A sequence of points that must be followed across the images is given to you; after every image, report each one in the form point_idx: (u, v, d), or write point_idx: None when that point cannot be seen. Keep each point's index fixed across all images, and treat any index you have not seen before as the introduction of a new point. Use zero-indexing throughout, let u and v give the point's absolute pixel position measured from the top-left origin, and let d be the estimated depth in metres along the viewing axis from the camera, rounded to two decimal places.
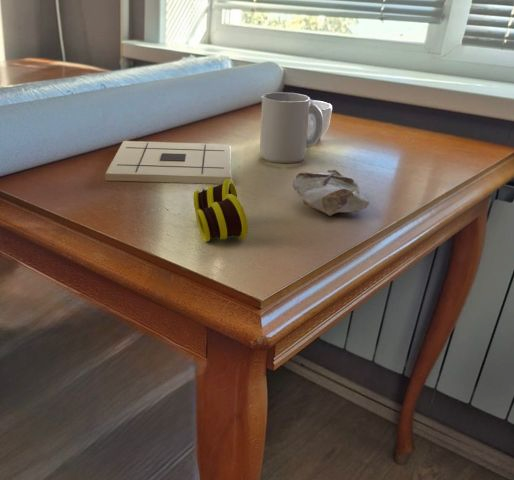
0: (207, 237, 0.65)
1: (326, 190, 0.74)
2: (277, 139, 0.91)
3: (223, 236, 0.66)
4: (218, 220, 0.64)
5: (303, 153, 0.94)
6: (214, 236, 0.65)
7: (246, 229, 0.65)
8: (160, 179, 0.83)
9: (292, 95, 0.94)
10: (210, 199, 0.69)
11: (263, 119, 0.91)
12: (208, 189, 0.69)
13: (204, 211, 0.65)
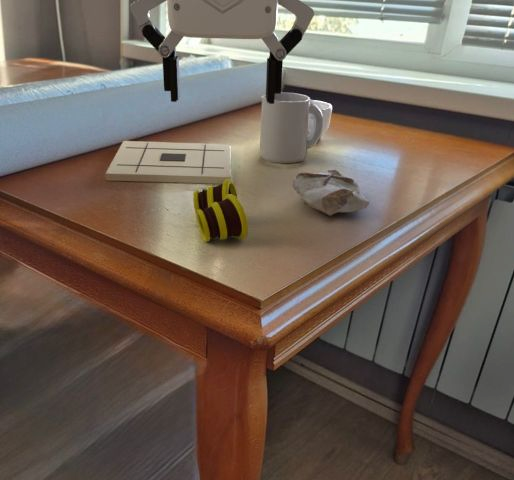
0: (207, 237, 0.65)
1: (326, 190, 0.74)
2: (277, 139, 0.91)
3: (223, 236, 0.66)
4: (218, 220, 0.64)
5: (303, 153, 0.94)
6: (214, 236, 0.65)
7: (246, 229, 0.65)
8: (160, 179, 0.83)
9: (292, 95, 0.94)
10: (210, 199, 0.69)
11: (263, 119, 0.91)
12: (208, 189, 0.69)
13: (204, 211, 0.65)
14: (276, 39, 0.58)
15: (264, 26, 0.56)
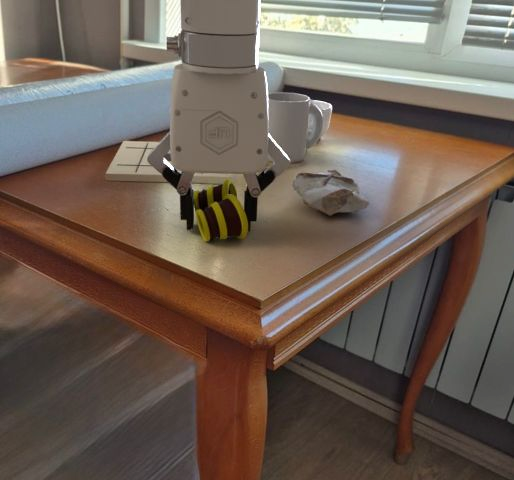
0: (207, 237, 0.65)
1: (326, 190, 0.74)
2: (277, 139, 0.91)
3: (223, 236, 0.66)
4: (218, 220, 0.64)
5: (303, 153, 0.94)
6: (214, 236, 0.65)
7: (246, 229, 0.65)
8: (160, 179, 0.83)
9: (292, 95, 0.94)
10: (210, 199, 0.69)
11: None
12: (208, 189, 0.69)
13: (204, 211, 0.65)
14: (255, 180, 0.65)
15: (256, 164, 0.63)
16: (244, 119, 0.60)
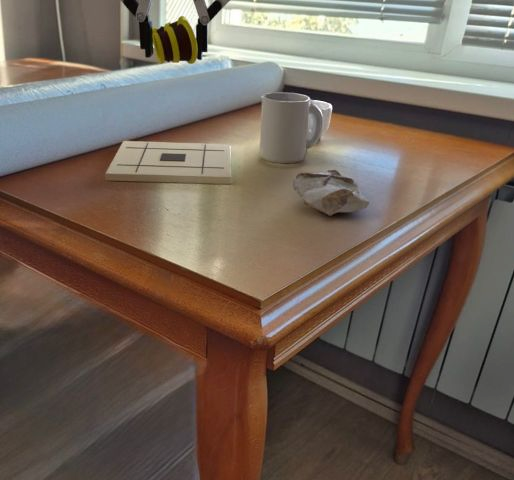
0: (161, 56, 0.74)
1: (326, 190, 0.74)
2: (277, 139, 0.91)
3: (176, 57, 0.75)
4: (171, 40, 0.74)
5: (303, 153, 0.94)
6: (168, 56, 0.75)
7: (195, 50, 0.74)
8: (160, 179, 0.83)
9: (292, 95, 0.94)
10: None
11: (263, 119, 0.91)
12: (165, 24, 0.79)
13: (159, 34, 0.74)
14: (204, 7, 0.75)
15: None
16: None
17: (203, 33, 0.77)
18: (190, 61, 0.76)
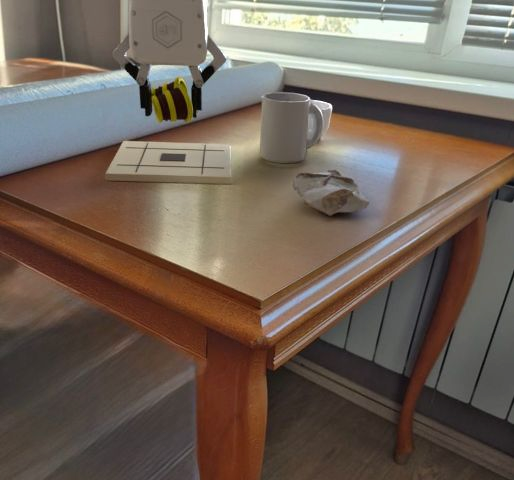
0: (160, 117, 0.82)
1: (326, 190, 0.74)
2: (277, 139, 0.91)
3: (173, 117, 0.82)
4: (169, 103, 0.81)
5: (303, 153, 0.94)
6: (166, 117, 0.82)
7: (191, 111, 0.82)
8: (160, 179, 0.83)
9: (292, 95, 0.94)
10: (164, 92, 0.86)
11: (263, 119, 0.91)
12: (163, 85, 0.86)
13: (157, 97, 0.82)
14: (199, 72, 0.82)
15: (197, 57, 0.80)
16: (186, 18, 0.77)
17: (198, 94, 0.84)
18: (186, 120, 0.84)
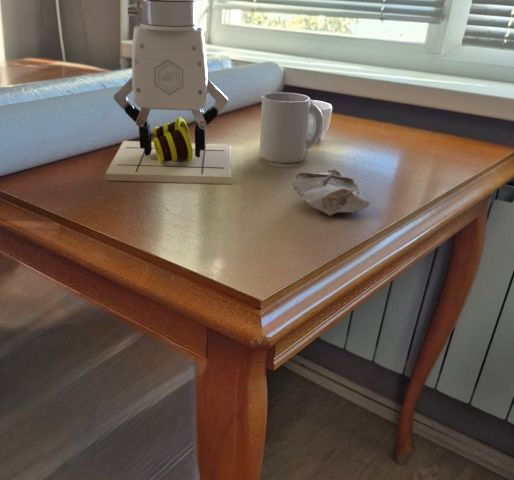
0: (161, 158, 0.85)
1: (326, 190, 0.74)
2: (277, 139, 0.91)
3: (174, 158, 0.85)
4: (169, 145, 0.84)
5: (303, 153, 0.94)
6: (167, 158, 0.85)
7: (191, 152, 0.85)
8: (160, 179, 0.83)
9: (292, 95, 0.94)
10: (165, 132, 0.89)
11: (263, 119, 0.91)
12: (164, 125, 0.89)
13: (159, 138, 0.85)
14: (201, 115, 0.85)
15: (198, 102, 0.83)
16: (187, 66, 0.80)
17: (201, 135, 0.87)
18: (186, 160, 0.87)
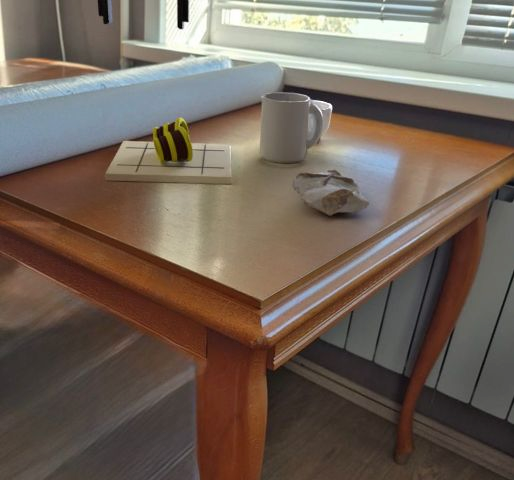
0: (161, 158, 0.85)
1: (326, 190, 0.74)
2: (277, 139, 0.91)
3: (174, 158, 0.85)
4: (170, 145, 0.84)
5: (303, 153, 0.94)
6: (167, 158, 0.85)
7: (191, 152, 0.85)
8: (160, 179, 0.83)
9: (292, 95, 0.94)
10: (165, 132, 0.89)
11: (263, 119, 0.91)
12: (164, 125, 0.89)
13: (159, 138, 0.85)
14: None
15: None
16: None
17: (184, 3, 0.79)
18: (186, 160, 0.87)
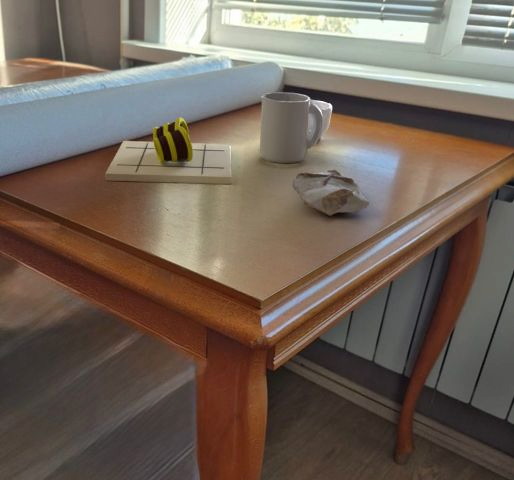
0: (161, 158, 0.85)
1: (326, 190, 0.74)
2: (277, 139, 0.91)
3: (174, 158, 0.85)
4: (169, 145, 0.84)
5: (303, 153, 0.94)
6: (167, 158, 0.85)
7: (191, 152, 0.85)
8: (160, 179, 0.83)
9: (292, 95, 0.94)
10: (165, 132, 0.89)
11: (263, 119, 0.91)
12: (164, 125, 0.89)
13: (159, 138, 0.85)
14: None
15: None
16: None
17: None
18: (186, 160, 0.87)
